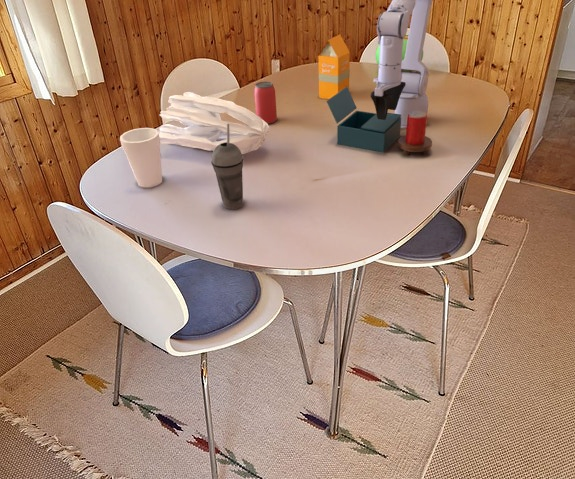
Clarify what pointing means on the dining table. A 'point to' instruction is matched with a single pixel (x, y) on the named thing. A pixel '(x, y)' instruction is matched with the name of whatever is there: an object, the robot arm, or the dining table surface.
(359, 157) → the dining table surface
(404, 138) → the coaster
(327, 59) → the orange juice
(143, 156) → the foam cup
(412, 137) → the can
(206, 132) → the white plastic bag
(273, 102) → the beer can
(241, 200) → the beverage cup
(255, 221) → the dining table surface
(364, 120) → the teal box
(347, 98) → the cool box flap
